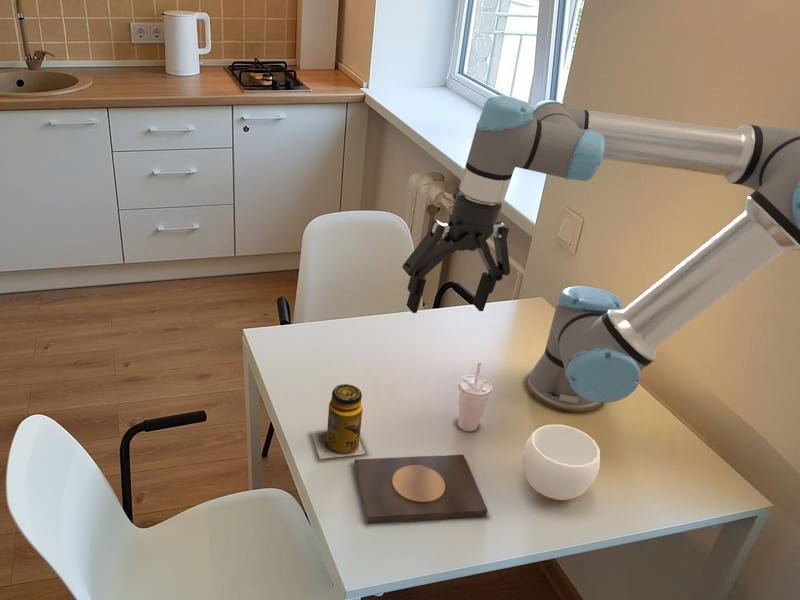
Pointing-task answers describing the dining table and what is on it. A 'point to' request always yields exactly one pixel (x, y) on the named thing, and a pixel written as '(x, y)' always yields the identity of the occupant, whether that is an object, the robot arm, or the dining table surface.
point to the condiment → (342, 424)
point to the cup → (561, 461)
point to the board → (418, 488)
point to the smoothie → (472, 399)
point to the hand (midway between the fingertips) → (445, 308)
